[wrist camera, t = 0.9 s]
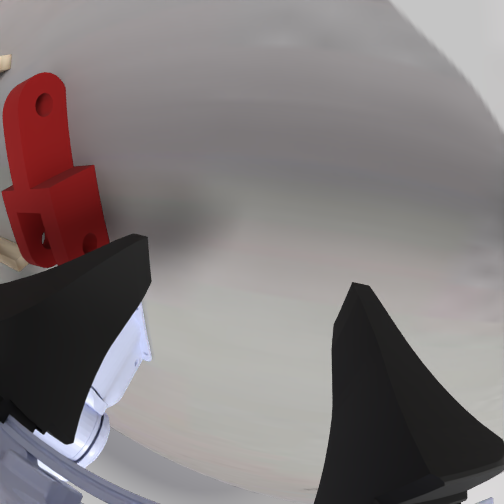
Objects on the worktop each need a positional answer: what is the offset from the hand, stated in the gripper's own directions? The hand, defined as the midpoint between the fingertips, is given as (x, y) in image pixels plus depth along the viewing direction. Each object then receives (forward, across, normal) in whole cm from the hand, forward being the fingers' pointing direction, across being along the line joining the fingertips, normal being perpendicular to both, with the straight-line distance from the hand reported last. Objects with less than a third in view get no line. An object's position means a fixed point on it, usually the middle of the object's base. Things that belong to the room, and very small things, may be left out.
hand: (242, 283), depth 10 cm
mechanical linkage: (+9, +17, 0) cm, 19 cm away
